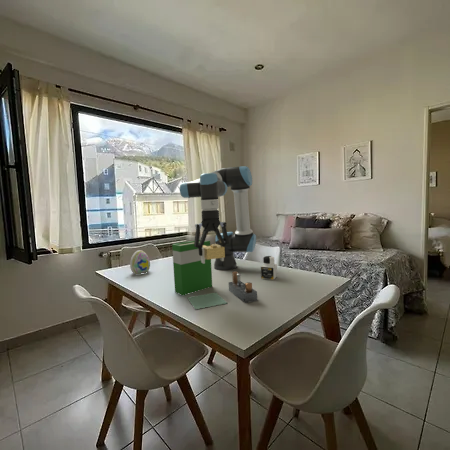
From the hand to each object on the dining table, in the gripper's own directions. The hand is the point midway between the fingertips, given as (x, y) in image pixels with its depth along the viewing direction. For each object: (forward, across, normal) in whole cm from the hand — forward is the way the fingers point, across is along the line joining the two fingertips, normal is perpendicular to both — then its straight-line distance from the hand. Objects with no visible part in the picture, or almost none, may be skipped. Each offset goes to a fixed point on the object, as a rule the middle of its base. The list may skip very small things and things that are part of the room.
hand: (212, 261), depth 111 cm
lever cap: (-2, 0, 0) cm, 2 cm away
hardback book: (+18, -4, +19) cm, 26 cm away
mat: (+18, -3, +1) cm, 18 cm away
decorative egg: (+18, -26, +66) cm, 74 cm away
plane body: (+18, +14, 0) cm, 22 cm away
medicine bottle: (+18, +39, +16) cm, 46 cm away
